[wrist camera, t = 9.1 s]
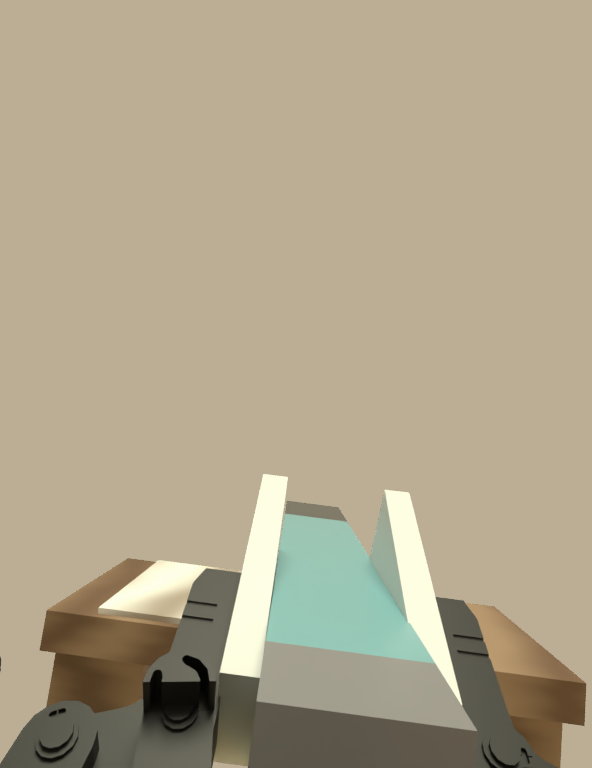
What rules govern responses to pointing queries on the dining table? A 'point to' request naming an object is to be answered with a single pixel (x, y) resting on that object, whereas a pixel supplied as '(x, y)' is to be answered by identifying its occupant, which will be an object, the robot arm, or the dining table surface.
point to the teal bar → (347, 664)
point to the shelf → (174, 580)
